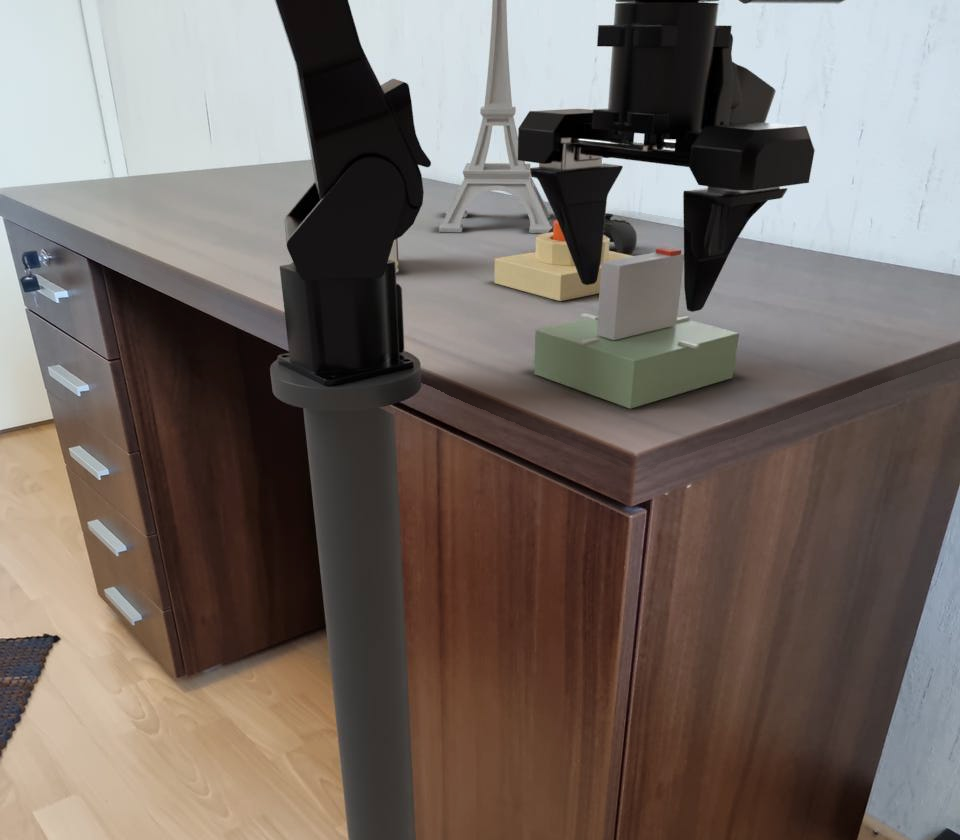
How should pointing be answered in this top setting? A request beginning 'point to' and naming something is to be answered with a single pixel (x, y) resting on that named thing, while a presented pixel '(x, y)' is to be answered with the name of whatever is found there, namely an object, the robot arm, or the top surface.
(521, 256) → the switch
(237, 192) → the top surface
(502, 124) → the eiffel tower
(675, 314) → the white square block
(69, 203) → the top surface
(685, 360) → the panel
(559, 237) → the button
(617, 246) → the gaming controller
